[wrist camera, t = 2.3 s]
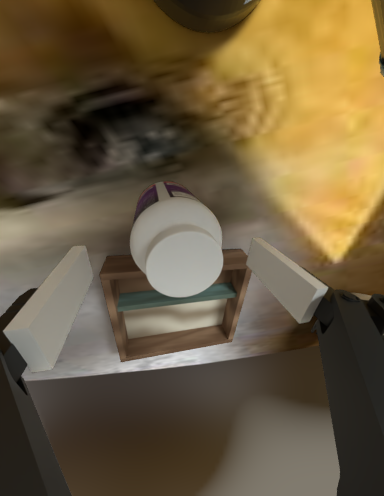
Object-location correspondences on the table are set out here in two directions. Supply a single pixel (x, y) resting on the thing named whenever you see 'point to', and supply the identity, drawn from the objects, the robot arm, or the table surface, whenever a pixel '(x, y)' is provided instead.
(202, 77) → the table surface
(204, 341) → the crate
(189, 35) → the table surface
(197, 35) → the table surface
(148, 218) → the pill bottle
